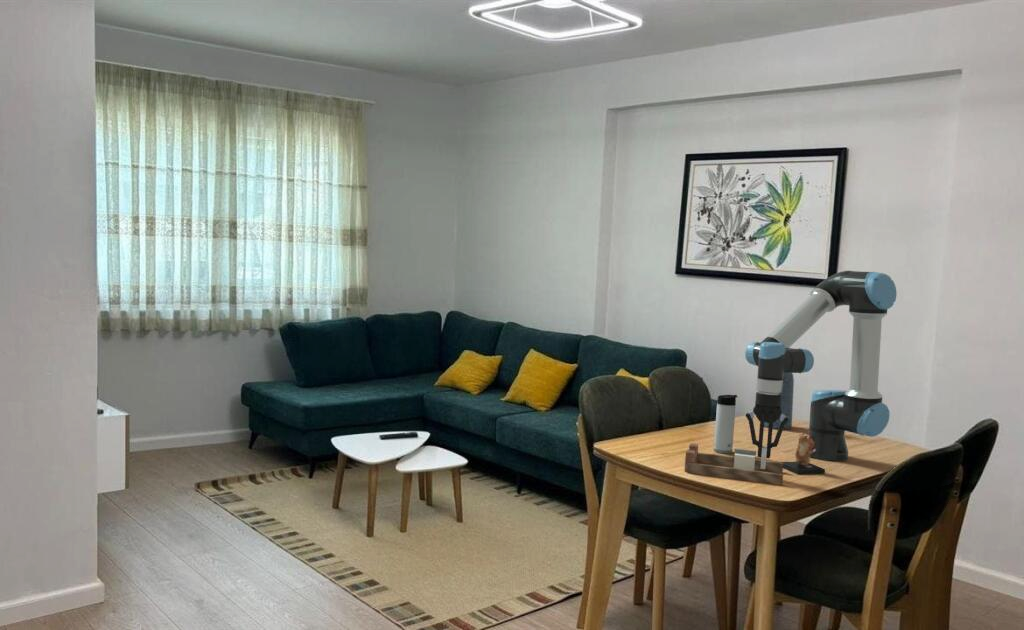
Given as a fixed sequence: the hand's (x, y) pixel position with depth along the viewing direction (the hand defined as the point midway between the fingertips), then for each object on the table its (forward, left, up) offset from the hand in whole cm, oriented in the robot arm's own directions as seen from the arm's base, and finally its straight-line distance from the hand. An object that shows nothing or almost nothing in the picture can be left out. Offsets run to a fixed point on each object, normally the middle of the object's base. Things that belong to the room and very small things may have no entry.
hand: (762, 467), depth 262 cm
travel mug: (+14, -28, -3) cm, 31 cm away
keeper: (+6, 0, -3) cm, 6 cm away
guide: (+8, 0, -3) cm, 8 cm away
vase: (-3, -87, -3) cm, 87 cm away
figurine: (-12, -15, -3) cm, 19 cm away
